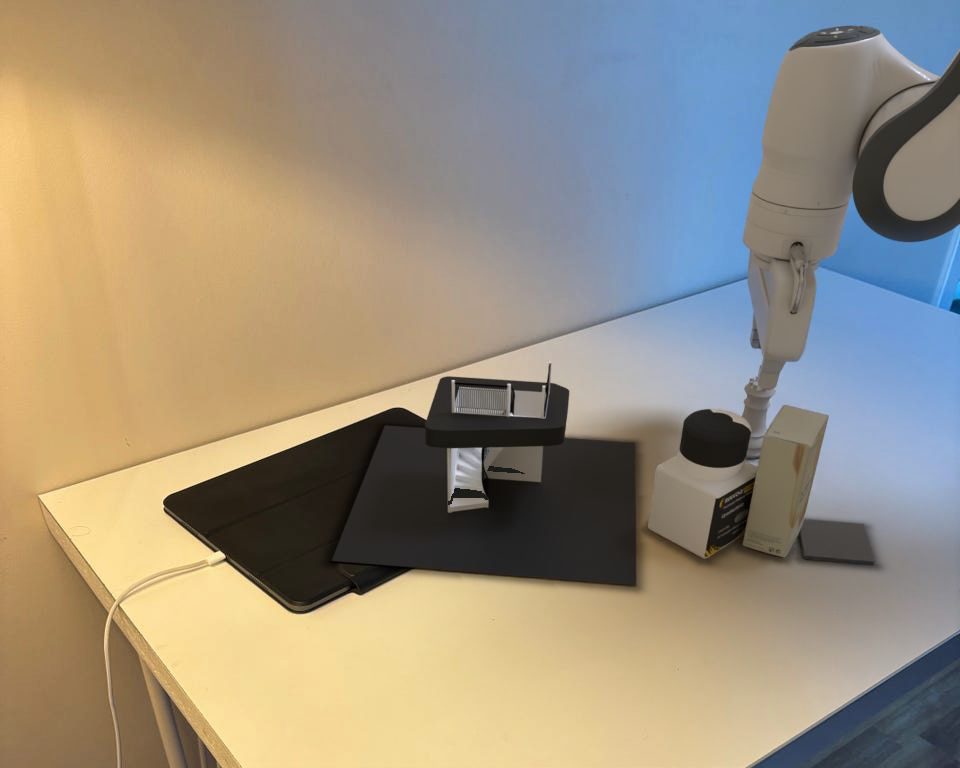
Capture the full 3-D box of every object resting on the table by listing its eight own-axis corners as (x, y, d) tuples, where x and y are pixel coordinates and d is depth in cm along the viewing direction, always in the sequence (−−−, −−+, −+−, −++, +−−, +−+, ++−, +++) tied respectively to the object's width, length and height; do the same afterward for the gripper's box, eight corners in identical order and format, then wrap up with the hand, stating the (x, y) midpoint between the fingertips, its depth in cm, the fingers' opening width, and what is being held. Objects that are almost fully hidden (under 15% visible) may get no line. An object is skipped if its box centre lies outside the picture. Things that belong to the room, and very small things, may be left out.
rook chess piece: (745, 435, 110) (759, 368, 105) (776, 451, 108) (792, 383, 103) (717, 446, 108) (730, 379, 103) (748, 463, 106) (763, 395, 101)
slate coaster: (862, 527, 97) (864, 523, 96) (874, 565, 92) (875, 561, 92) (796, 521, 97) (797, 518, 97) (803, 559, 92) (804, 555, 92)
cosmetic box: (785, 560, 92) (811, 448, 84) (740, 547, 94) (761, 436, 85) (804, 523, 96) (831, 412, 88) (761, 511, 98) (783, 401, 89)
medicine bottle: (704, 561, 92) (727, 446, 84) (645, 529, 96) (662, 417, 88) (749, 532, 96) (775, 420, 88) (691, 502, 100) (710, 393, 92)
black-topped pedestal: (331, 562, 91) (318, 432, 82) (384, 426, 111) (378, 310, 102) (636, 586, 89) (655, 455, 80) (635, 443, 109) (650, 326, 100)
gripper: (843, 268, 85) (804, 415, 94) (813, 197, 100) (782, 328, 109) (768, 263, 85) (737, 409, 94) (750, 192, 101) (725, 324, 110)
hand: (761, 365), depth 102 cm, fingers open, 8 cm apart
